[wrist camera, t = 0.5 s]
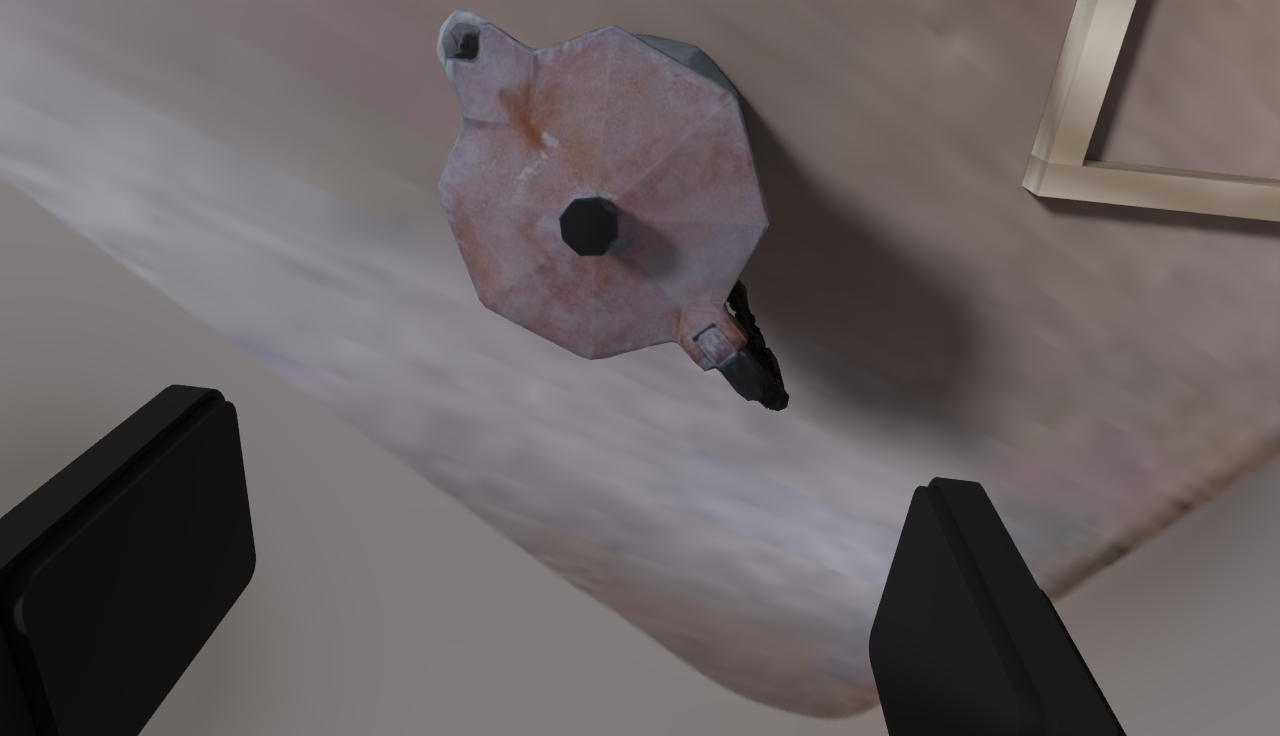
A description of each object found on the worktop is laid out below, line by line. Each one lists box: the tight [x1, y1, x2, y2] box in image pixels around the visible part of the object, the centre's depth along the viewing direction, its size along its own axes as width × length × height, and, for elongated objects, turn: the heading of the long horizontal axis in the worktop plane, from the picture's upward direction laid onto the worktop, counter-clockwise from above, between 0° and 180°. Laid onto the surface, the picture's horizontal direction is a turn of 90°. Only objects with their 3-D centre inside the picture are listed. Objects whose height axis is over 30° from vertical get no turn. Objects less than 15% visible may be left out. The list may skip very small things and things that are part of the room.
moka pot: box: [436, 9, 789, 411], centre depth 30 cm, size 10×15×20 cm, turn 45°
